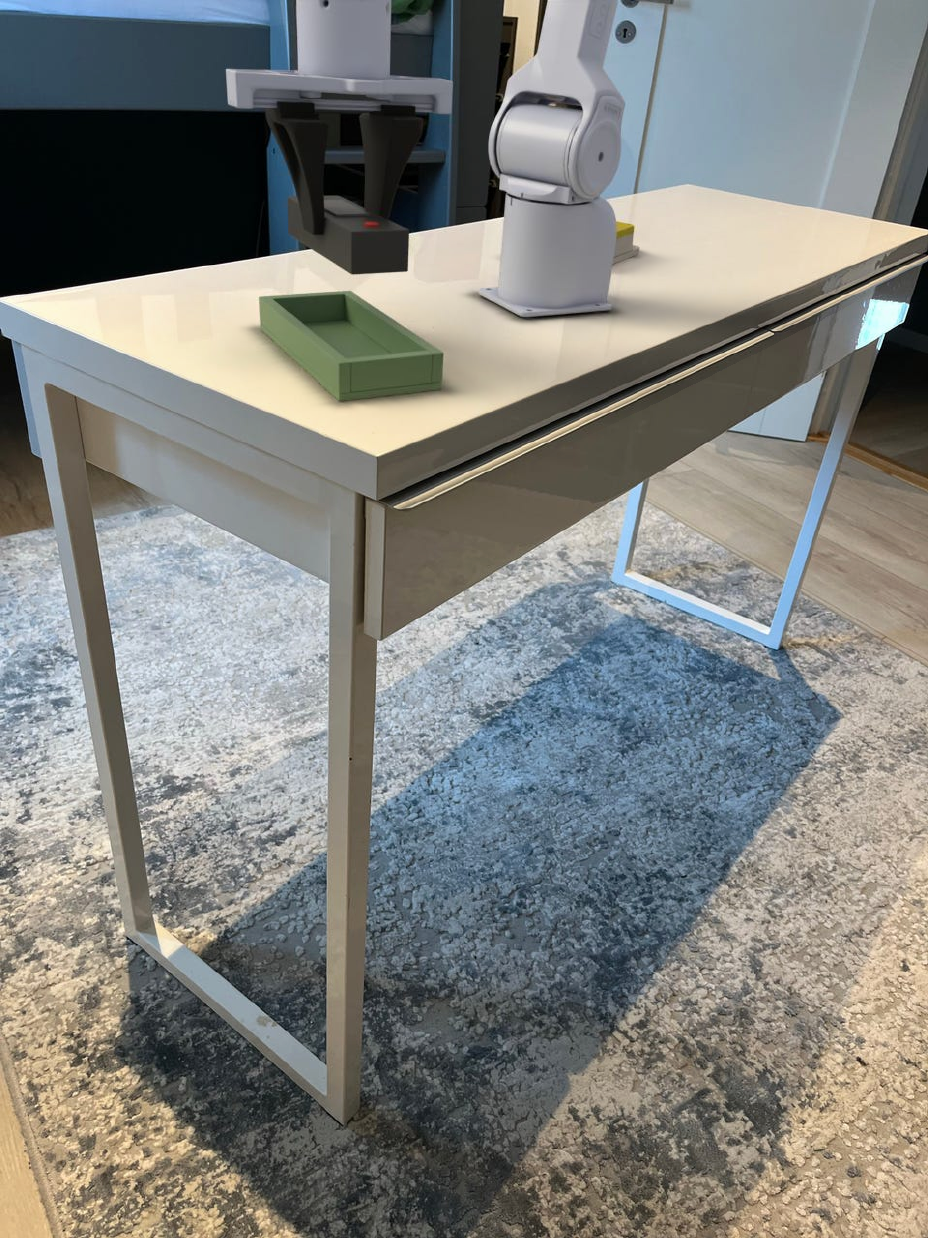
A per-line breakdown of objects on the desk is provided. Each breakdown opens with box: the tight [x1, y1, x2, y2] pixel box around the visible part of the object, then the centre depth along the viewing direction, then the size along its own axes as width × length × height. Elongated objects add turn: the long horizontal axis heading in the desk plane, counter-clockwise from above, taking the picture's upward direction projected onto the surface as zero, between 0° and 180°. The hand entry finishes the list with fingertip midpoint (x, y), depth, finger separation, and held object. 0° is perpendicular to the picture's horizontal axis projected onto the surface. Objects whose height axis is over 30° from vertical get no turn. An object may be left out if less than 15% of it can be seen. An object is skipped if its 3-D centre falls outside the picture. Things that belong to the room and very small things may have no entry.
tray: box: [258, 290, 444, 402], centre depth 66 cm, size 7×16×2 cm, turn 28°
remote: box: [286, 195, 410, 276], centre depth 63 cm, size 12×4×3 cm, turn 28°
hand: (344, 230), depth 63 cm, fingers closed on remote, 4 cm apart
